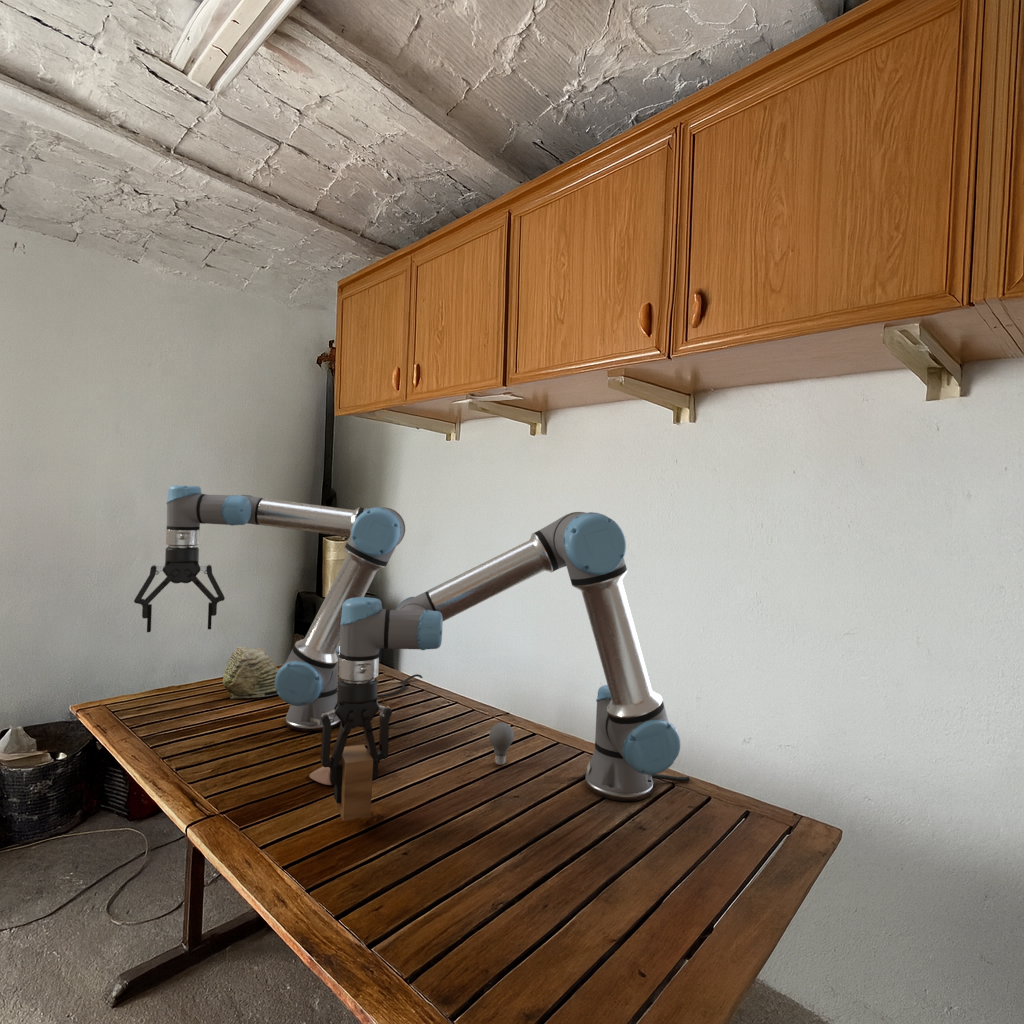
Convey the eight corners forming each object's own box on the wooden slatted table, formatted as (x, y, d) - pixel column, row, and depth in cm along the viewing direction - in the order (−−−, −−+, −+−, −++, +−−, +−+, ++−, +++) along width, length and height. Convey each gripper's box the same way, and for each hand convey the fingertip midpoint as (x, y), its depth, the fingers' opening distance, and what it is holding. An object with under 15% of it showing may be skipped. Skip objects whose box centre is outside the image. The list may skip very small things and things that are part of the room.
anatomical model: (302, 763, 140) (328, 744, 151) (302, 781, 140) (327, 761, 151) (358, 771, 137) (380, 751, 148) (358, 789, 137) (379, 768, 148)
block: (334, 802, 125) (337, 747, 125) (360, 798, 127) (363, 744, 127) (343, 821, 118) (345, 763, 118) (370, 816, 120) (373, 759, 120)
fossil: (218, 695, 195) (220, 647, 195) (278, 685, 208) (279, 640, 207) (228, 703, 189) (230, 653, 188) (289, 692, 201) (290, 645, 201)
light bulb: (487, 758, 157) (489, 718, 156) (511, 759, 157) (513, 719, 157) (488, 769, 151) (490, 727, 150) (513, 769, 151) (515, 727, 151)
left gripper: (123, 547, 151) (120, 635, 152) (237, 547, 163) (234, 630, 163) (126, 544, 158) (123, 629, 158) (235, 545, 169) (232, 624, 170)
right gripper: (312, 688, 115) (307, 815, 115) (409, 679, 123) (404, 798, 123) (306, 677, 122) (300, 796, 122) (398, 669, 130) (393, 782, 130)
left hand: (179, 629), depth 161 cm, fingers open, 13 cm apart
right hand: (352, 797), depth 123 cm, fingers closed on block, 5 cm apart
